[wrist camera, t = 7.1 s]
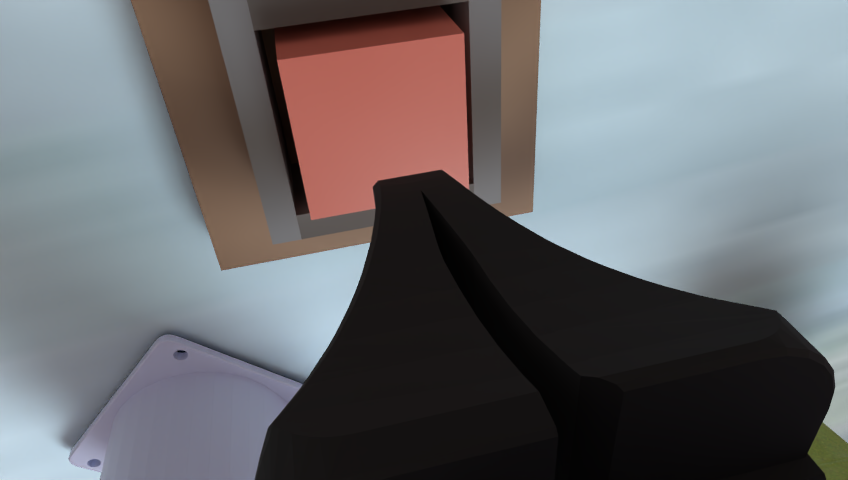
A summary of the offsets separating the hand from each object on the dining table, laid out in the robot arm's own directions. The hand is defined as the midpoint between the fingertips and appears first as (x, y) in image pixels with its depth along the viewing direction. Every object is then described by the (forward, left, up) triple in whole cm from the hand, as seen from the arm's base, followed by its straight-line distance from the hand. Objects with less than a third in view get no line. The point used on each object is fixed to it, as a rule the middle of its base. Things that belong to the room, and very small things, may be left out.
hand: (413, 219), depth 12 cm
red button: (0, 0, -7) cm, 7 cm away
